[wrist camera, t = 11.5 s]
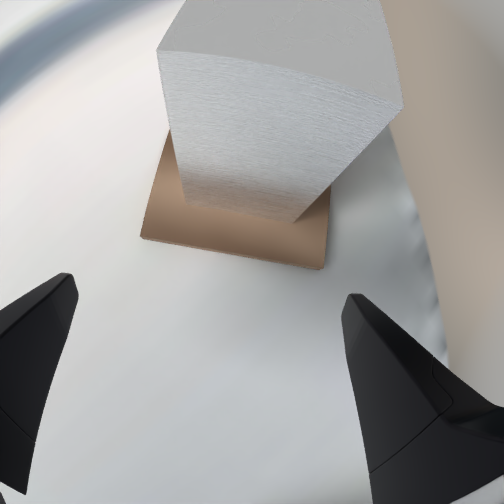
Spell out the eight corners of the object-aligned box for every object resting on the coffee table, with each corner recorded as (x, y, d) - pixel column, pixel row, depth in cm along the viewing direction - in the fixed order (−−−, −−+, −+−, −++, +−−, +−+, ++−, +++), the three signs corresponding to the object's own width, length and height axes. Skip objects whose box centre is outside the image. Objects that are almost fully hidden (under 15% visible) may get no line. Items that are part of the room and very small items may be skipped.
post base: (318, 269, 19) (349, 258, 14) (142, 238, 18) (122, 218, 13) (330, 124, 21) (353, 88, 16) (184, 95, 20) (181, 53, 15)
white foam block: (292, 223, 18) (404, 107, 6) (186, 204, 18) (156, 49, 6) (302, 135, 19) (378, -3, 8) (208, 116, 19) (216, -42, 7)
